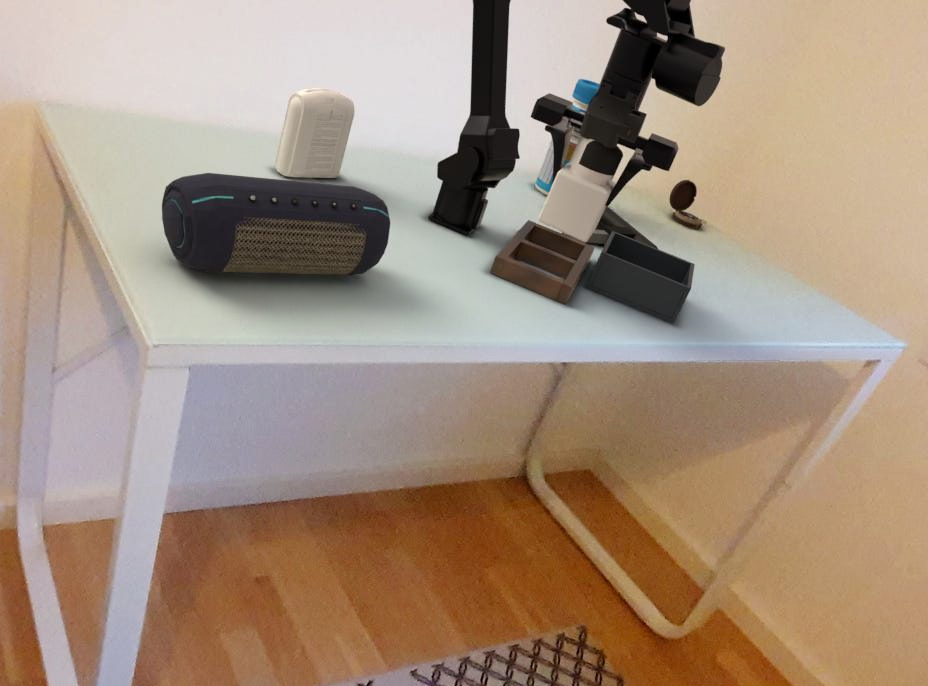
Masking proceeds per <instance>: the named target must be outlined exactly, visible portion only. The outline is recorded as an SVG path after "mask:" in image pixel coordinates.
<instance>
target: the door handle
mask: <svg viewBox="0 0 928 686" xmlns="http://www.w3.org/2000/svg"><path fill="white" fill-rule="evenodd" d="M612 231H614V232H617V233H619V234H622V235H624V236H627V237H629V238H632V239H634V240H637V241H639V242H641V243H644V244H646V245H649V246H651V247H654V248H656V249H659V247H658V246H657V245H656V244H654V242H652V241H651V239H650V240H649V238H648V237H646V236H645V235H644V234H642V233H641V232H640V231H639V230H637V228H635V227H634V226H633V225H631V224H630V223H629V222H628V221H626V220H625V219H624V218H623V217H621V216H620V215H619V214H617V212H615V211H614V210H613V209H612V208H610V207H609V206H606V208H605V210H604V212H603V214H602V216H601V218H600V221H599V223H598V225H597V227H596V229H595V231H594V232H593V233H592V235H591V236H590V238H589V239H588V241H587V242H586V243H590V244H600V245H602V246H603V247H604V246H605V244H606V242H607V240H608V238H609V236H610V234H611V232H612ZM560 233H561V234H564V235H566V236H569V237H571V238H574V237H572V236H570V235H568V234H565V233H563V232H560ZM574 239H576V238H574ZM576 240H578V239H576ZM579 241H581V240H579ZM581 242H583V241H581ZM583 243H584V242H583Z"/></svg>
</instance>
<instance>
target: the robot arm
mask: <svg viewBox="0 0 928 686" xmlns="http://www.w3.org/2000/svg"><path fill="white" fill-rule="evenodd" d="M511 1H512V0H472V28H471V29H472V31H471V33H472V34H471V35H472V36H471V70H470V72H471V73H470V106H469V107H470V108H469V109H470V110H469V115H468V117H467V120H466V121H465V124H464V126H463V128H462V130H461V132H460V134H459V138H458V145H457V150H456V151H457V152H455V153H454V154H451V155H449V156H448V157H445V158H443V159H442V160H439V161H438V162H437V165H436V167H437V169H436V170H437V171H436V178H437V179H439V180H441V181H442V182H441V185H440V188H439V191H438V195H437V198H436V201H435V205H434V208H433V211H432V212H430V214H428V216H427V218H428V220H430V221H432V222H435V223H438V224H440V225H442V226H444V227H447V228H449V229H451V230H454V231H457V232H459V233H461V234H464V235H470V234H471V233H472V232H473V231H475V230H477V229H478V228H480V226H481V224H482V222H483V218H484V215H485V212H486V209H487V206H488V203H489V200H488V199H487V195H488V192H489V189H496V187H498V185H499V184H500V182H501V181H502V180H504V179H506V178H508V176H509V175H511V173H513V172H514V170H515V167H516V162H517V160H520V159H521V157H520V153H519V143H520V142H519V141H520V137H521V133H520V129H519V128H511V126H510V124H509V121H508V119H507V115H506V107H507V105H506V103H507V79H508V78H507V77H508V56H509V55H508V53H509V51H508V50H509V29H510V27H509V26H510V24H509V23H510V6H511V5H510V4H511ZM622 2H623V3H625V4H626V5H627V7H624V8H623V9H621V10H620V11H619V12H617V13H615V14H612V15H611V16H608V17H607V18H606V19H605V22H606V24H607V25H610V26H612V27H614V28H616V29H619V30H620V31H619V32H618V35H617V38H616V41H615V43H614V46H613V48H612V50H611V53H610V56H609V59H608V61H607V64H606V66H605V69H604V72H603V74H602V76H601V80H600V81H599V83H598V84H599V87H598V90H597V92H596V94H595V95H594V96H593V98H592V99H591V100H590V102H589V105H588V108H587V110H586V113H585V114H583V113H580V112H577V111H575V110H572V105H573V102H574V101H571V100H569V99H565V98H563V97H561V96H557V95H555V94H553V93H550V92H549V93H546V94H545V95H543V96H541V97H539V98H537V99H536V101H535V103H534V105H533V109H532V112H531V114H530V118H531V119H532V120H535V121H537V122H540V123H543V124H545V125H544V131H546V132H547V133H549V134H550V136H551V140H553V149H554V161H553V182H554V180H555V177H556V175H557V173H558V171H560V170H561V169H562V168H563V164H564V161H565V157H566V154H567V150H568V147H569V143H570V140H571V136H572V133H573V128H571V126H574V127H576V128H579V129H580V132H579V133H580V135H581V136H582V137H584V138H586V139H593V140H595V141H598V142H600V143H603V145H604V146H606V147H610V148H613V147H616V146H618V145H620V146H622V147H624V148H627V149H630V150H633V151H634V152H633V154H632V155H631V157H630V158H629V160H628V161H627V163H626V166H625V167H624V169H623V170H622V172H621V174H620V176H619V178H618V180H617V181H616V182H615V186H614V188H613V190H612V191H611V193H610V195H609V197H608V200H607V202H606V206H608V207H609V205H610V204H612V202H613V201H614V200H615V198H617V196H618V195H619V194H620V192H621V191H622V190H623V189H624V188H625V186H626V185H627V184H628V183H629V182H630V181H631V180H632V179H633V178H634V177H636V176H637V174H639V173H640V172H641V171H642V170H643V171H646V172H651V170H652V169H653V167H654V168H658V169H660V170H661V171H666V172H670V170H671V167H672V165H673V163H674V161H675V159H676V156H677V154H678V151H679V145H678V142H676V141H674V140H671V139H669V138H666V137H664V136H661V135H659V134H656V133H653V132H652V133H651V134H650V135H649V136H648V138H647V137H644V136H642V135H640V134H641V131H642V129H643V126H644V123H645V121H646V118H647V113H645V112H644V111H640V107H641V105H642V103H643V100H644V99H645V97H646V96H645V95H646V94H647V91H648V88H649V86H650V84H651V81H652V80H654V85H655V87H656V88H657V90H659V91H662V92H665V93H667V94H669V95H670V96H673V97H676V98H678V99H680V100H683V101H685V102H687V103H689V104H691V105H694V106H696V107H702V106H704V104H707V102H708V101H709V100H710V99H711V97H712V96H713V95H714V93H715V91H716V89H717V88H718V85H719V84H720V81H721V78H722V77H720V76H721V74H722V69H723V59H722V58H723V55H724V54H725V51H726V46H723V45H721V44H717V43H714V42H709V41H705V40H702V39H700V38H698V37H696V34H695V29H694V28H695V27H694V24H693V22H694V21H693V16H692V9H691V2H692V0H622ZM636 14H637V15H638V16H641V17H643V18H644V20H645V21H643V20H641V19H638V17H637V15H636ZM658 34H660V35H662V36H665V37H667V39H664V38H661V37H659V36H658ZM553 182H552V184H553Z"/></svg>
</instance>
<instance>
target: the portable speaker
mask: <svg viewBox="0 0 928 686" xmlns="http://www.w3.org/2000/svg"><path fill="white" fill-rule="evenodd" d="M161 219H162V220H161V221H162V227H163V233H164V236H165V238H166V240H167V243H168V245H169V248H170V250H171V252H172V255H173V257H174V258H175V260H177V261H178V262H179V263H181V264H182V265H184V266H187V267H189V268H191V269H194V270H195V271H199V272H204V273H242V274H243V273H244V274H245V273H248V274H249V273H250V274H285V275H287V274H289V275H325V276H326V275H330V276H331V275H332V276H349V277H351V276H357V275H362V274H364V273H366V272H368V271H370V270H371V269H372V268H374V267H375V266H376V265H378V264H379V263H380V261H381V259H382V257H383V256H384V254H385V253H386V250H387V247H388V244H389V236H390V229H391V218H390V214H389V208H388V205H387V204H386V202H385V201H384V200H383V199H382V198H381V197H379V196H378V195H376V194H375V193H373V192H370V191H367V190H366V189H362V188H359V187H356V186H351V185H340V184H331V183H321V182H309V181H299V180H288V179H277V178H266V177H255V176H246V175H235V174H226V173H225V174H224V173H216V172H215V173H214V172H204V173H197V174H191V175H185V176H181V177H179V178H176V179H174V180H172V181H171V182H170V183H168V185H166V186H165V189H164V192H163V196H162V202H161Z"/></svg>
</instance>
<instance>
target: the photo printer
mask: <svg viewBox="0 0 928 686" xmlns="http://www.w3.org/2000/svg"><path fill="white" fill-rule="evenodd" d="M285 111H286V112H285V115H284V120H283V125H282V130H281V134H280V138H279V144H278V149H277V154H276V157H275V163H274V164H275V165H274V166H275V168H276V171H277V172H278V173H279V174H280V175H282V176H284V177H292V178H316V179H317V178H322V179H323V178H324V179H335V178H338V177H339V175H340V172H341V169H342V165H343V161H344V156H345V153H346V148H347V145H348V141H349V136H350V133H351V130H352V125H353V121H354V117H355V104H354V101H353V100H352V99H351V98H349V96H347V95H345V94H343V93H341V92H339V91H336V90H334V89H330V88H325V87H314V88H313V87H311V88H306V89H300V90H297V91H295V92H293V93H292V94H291V95H290V97H289V99H288V102H287V107H286V110H285Z"/></svg>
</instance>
